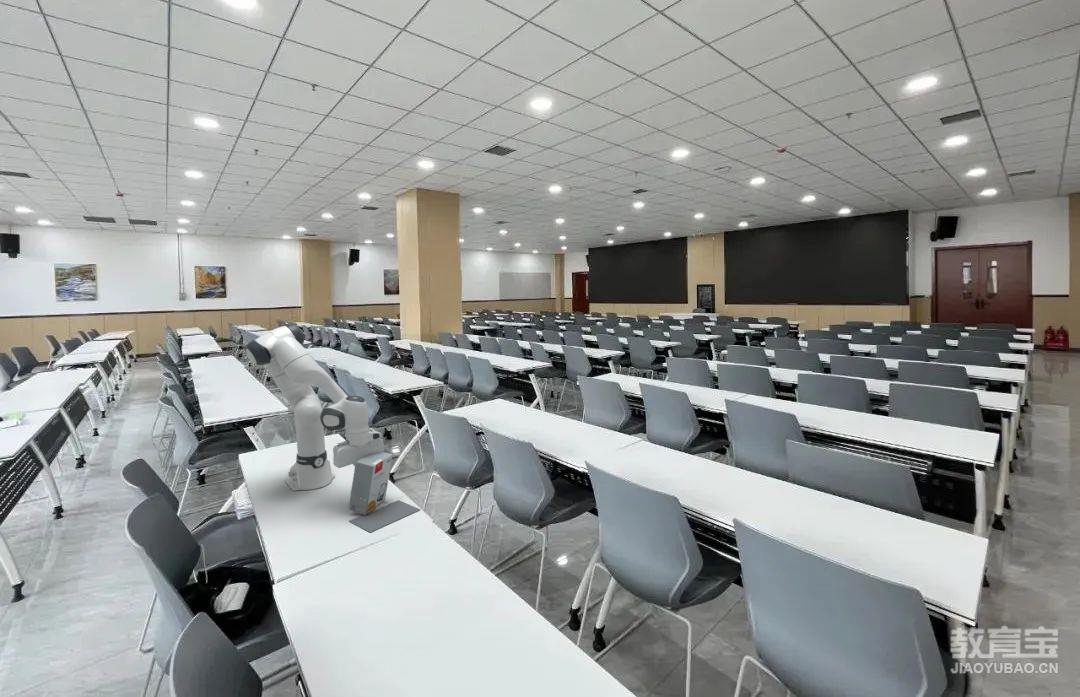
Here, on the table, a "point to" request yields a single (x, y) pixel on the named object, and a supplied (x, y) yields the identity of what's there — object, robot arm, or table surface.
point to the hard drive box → (370, 482)
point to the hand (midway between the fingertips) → (360, 471)
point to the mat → (384, 516)
